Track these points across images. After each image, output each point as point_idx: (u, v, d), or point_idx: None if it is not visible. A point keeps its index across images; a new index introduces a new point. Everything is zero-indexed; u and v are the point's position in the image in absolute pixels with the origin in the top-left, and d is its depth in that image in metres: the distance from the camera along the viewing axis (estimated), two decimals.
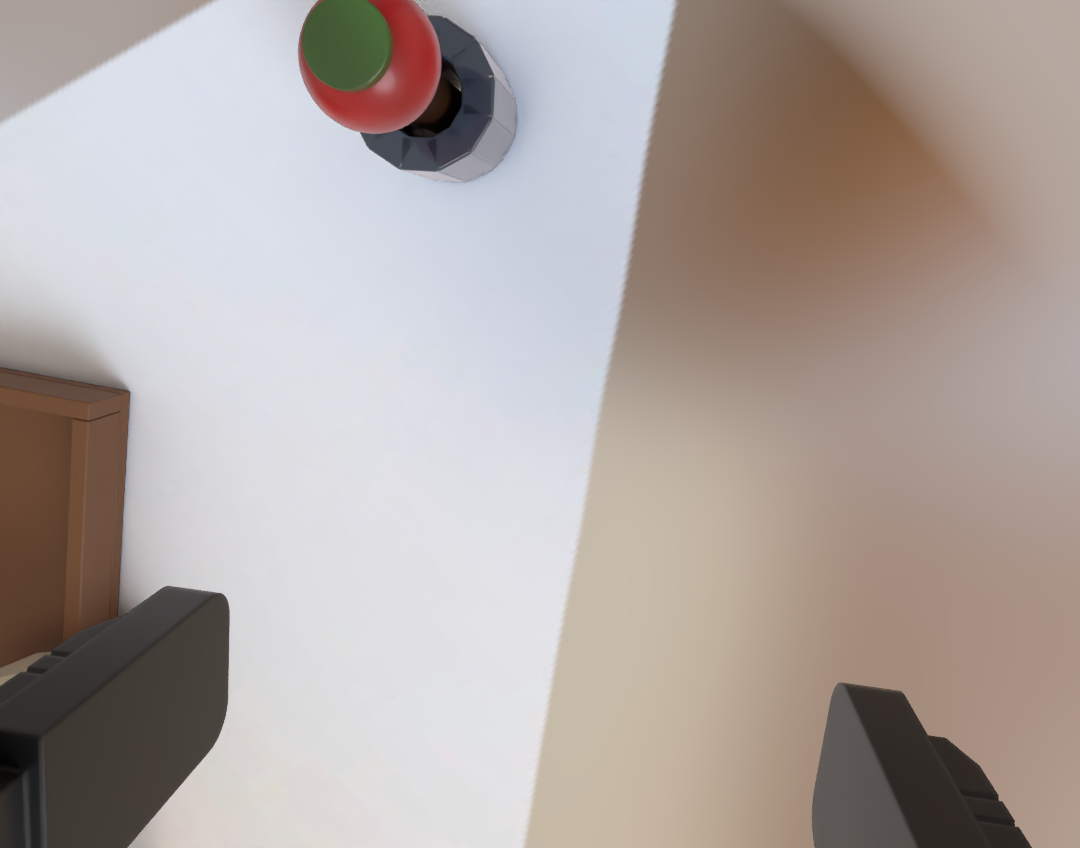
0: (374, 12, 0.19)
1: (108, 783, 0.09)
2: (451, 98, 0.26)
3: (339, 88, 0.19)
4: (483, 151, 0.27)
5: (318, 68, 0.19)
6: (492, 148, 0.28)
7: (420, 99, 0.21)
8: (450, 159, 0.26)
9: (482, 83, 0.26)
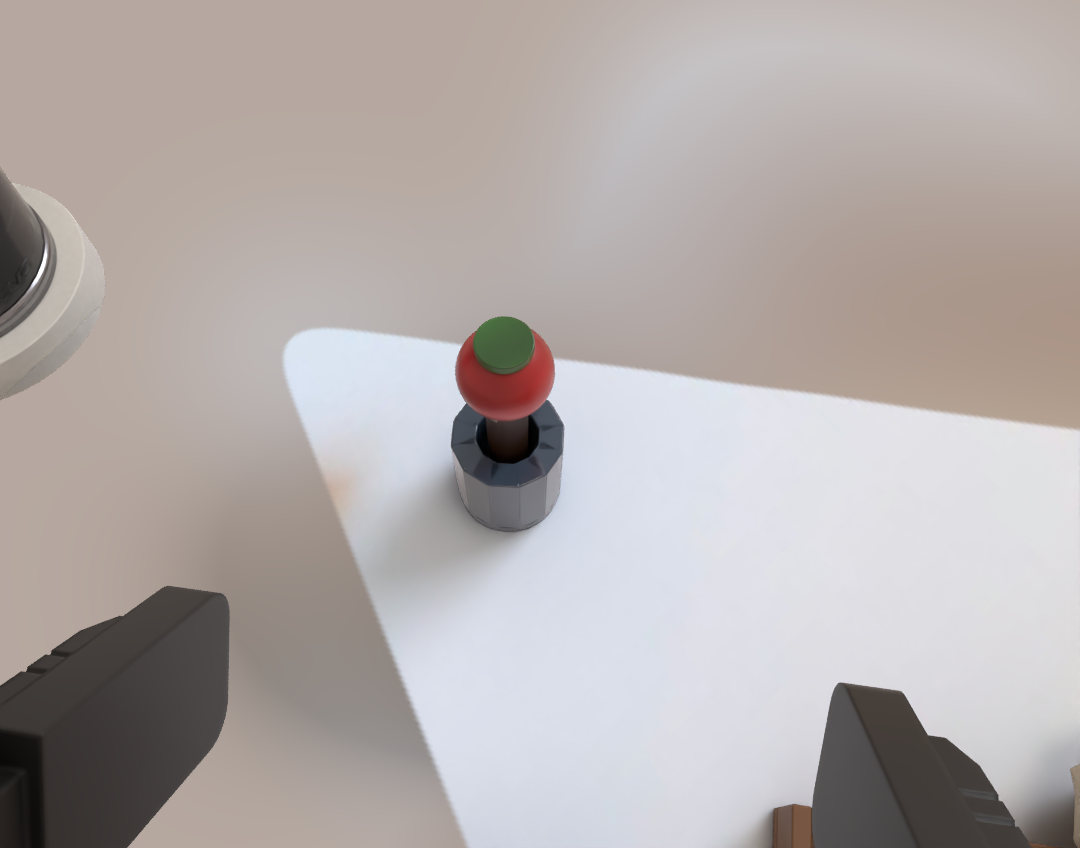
0: (486, 323, 0.28)
1: (108, 783, 0.09)
2: None
3: (533, 346, 0.28)
4: None
5: (520, 359, 0.28)
6: None
7: None
8: (555, 415, 0.35)
9: None
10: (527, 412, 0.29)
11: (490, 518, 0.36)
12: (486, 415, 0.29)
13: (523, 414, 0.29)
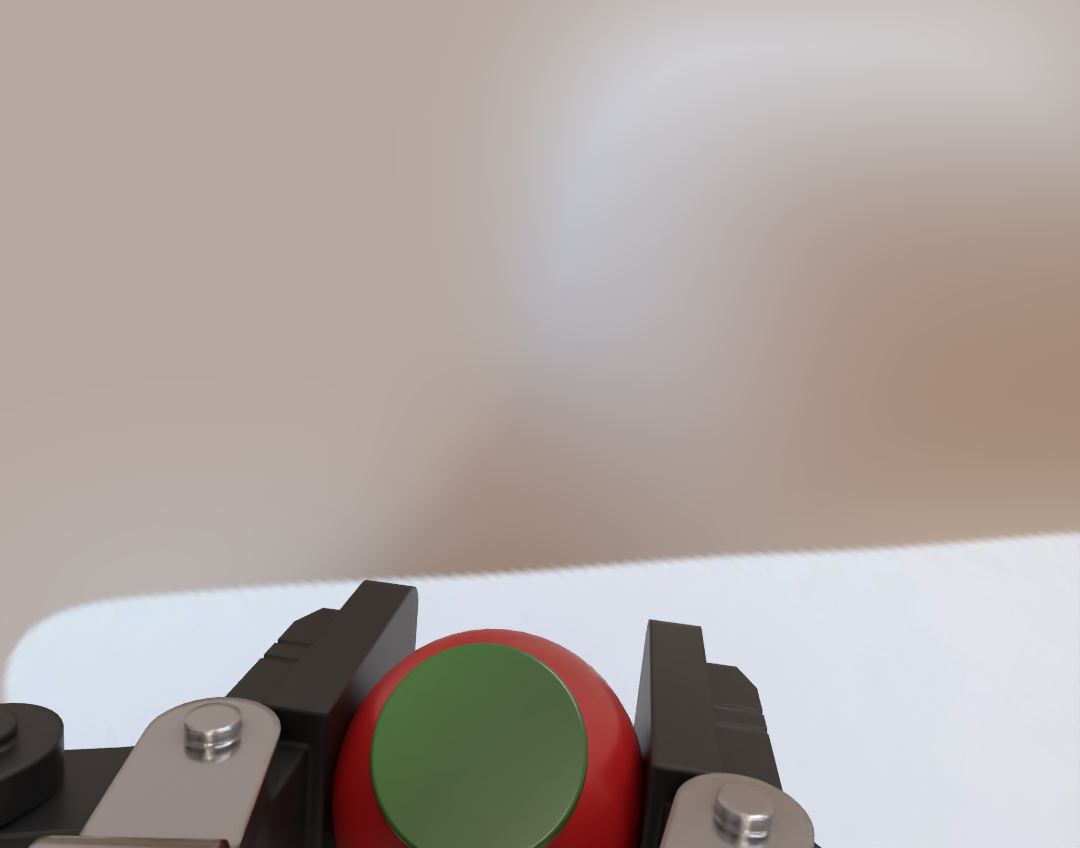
0: (405, 686, 0.08)
1: None
2: None
3: (586, 743, 0.08)
4: None
5: (551, 808, 0.08)
6: None
7: (552, 642, 0.10)
8: None
9: None
10: None
11: None
12: None
13: None
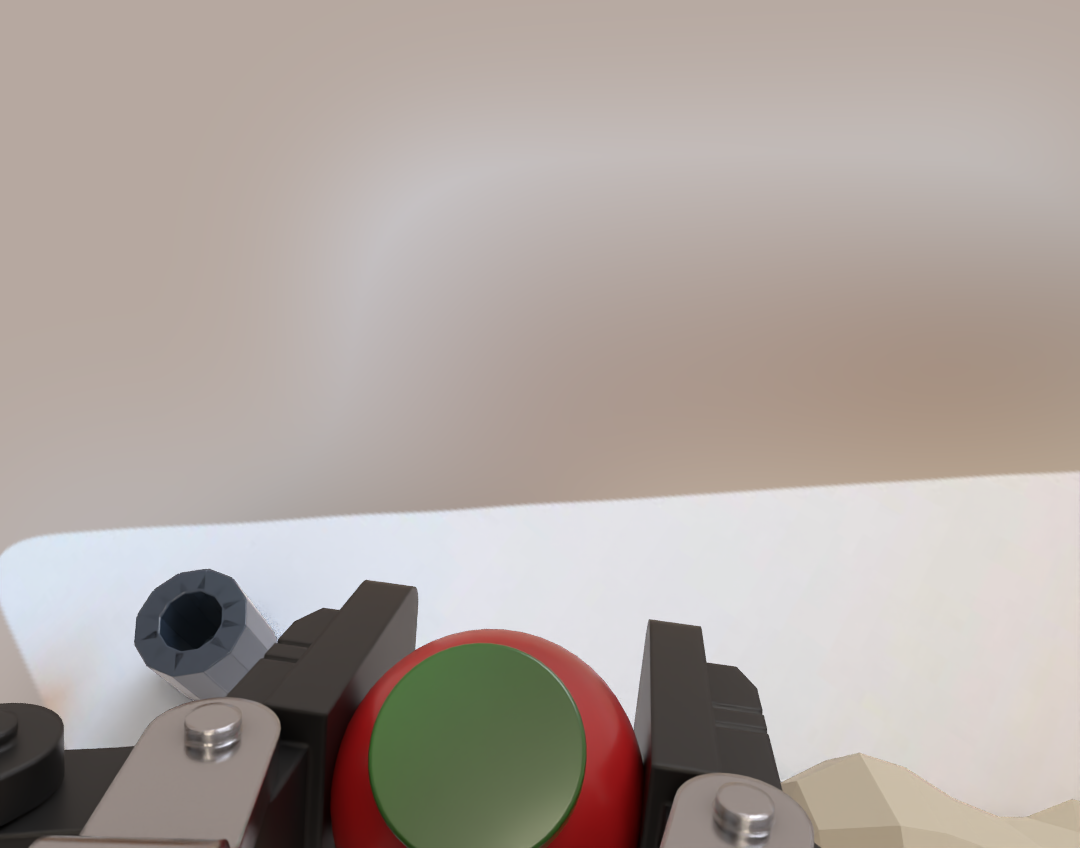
0: (402, 686, 0.08)
1: None
2: None
3: (584, 743, 0.08)
4: None
5: (550, 808, 0.08)
6: None
7: (551, 642, 0.10)
8: (237, 590, 0.36)
9: (183, 579, 0.36)
10: None
11: None
12: None
13: None
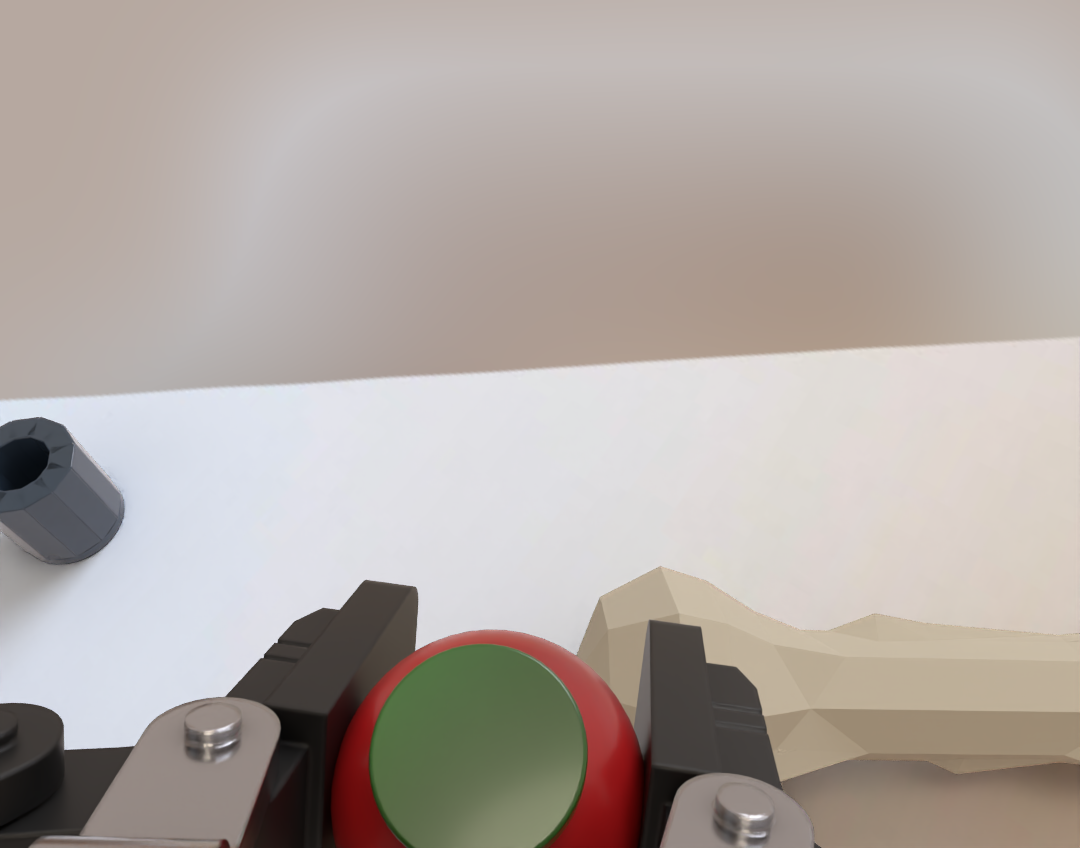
0: (403, 688, 0.08)
1: None
2: None
3: (585, 744, 0.08)
4: None
5: (551, 809, 0.08)
6: None
7: (552, 643, 0.10)
8: (66, 436, 0.36)
9: (14, 426, 0.36)
10: None
11: (37, 552, 0.37)
12: None
13: None
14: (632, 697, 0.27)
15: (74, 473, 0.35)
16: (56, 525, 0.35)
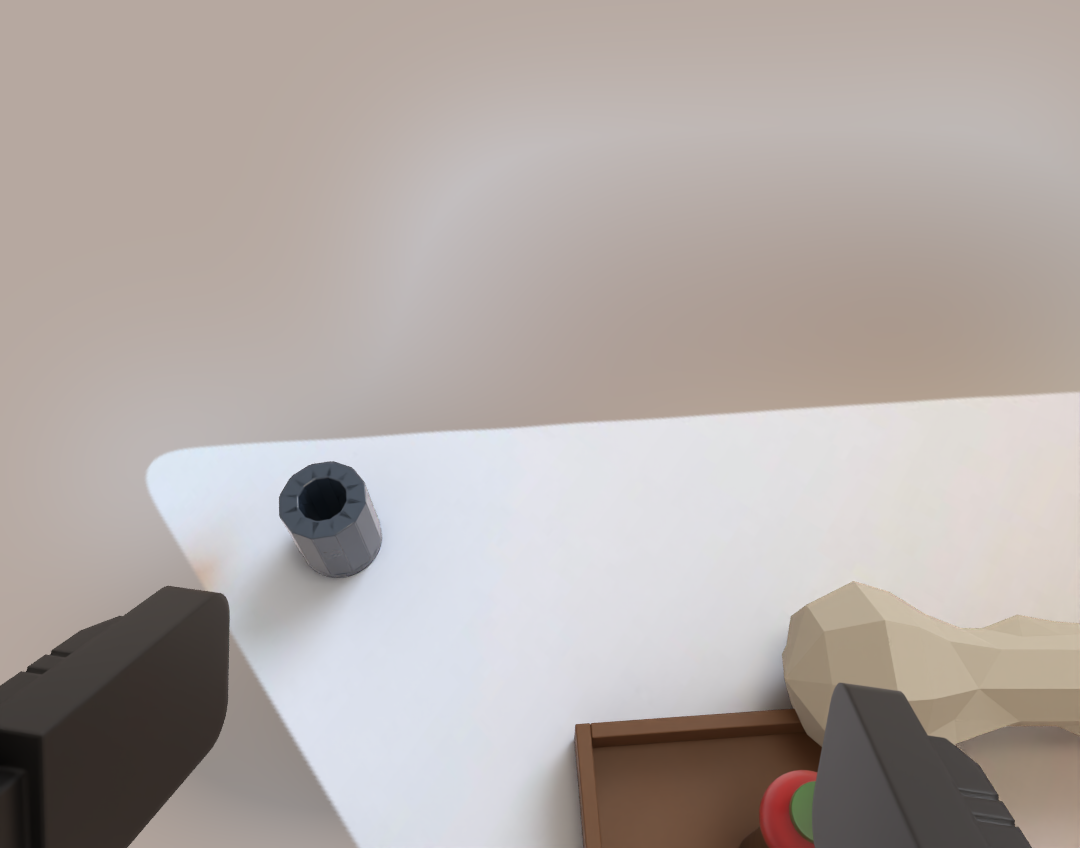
0: (797, 794, 0.30)
1: (108, 783, 0.09)
2: None
3: None
4: None
5: None
6: None
7: None
8: (357, 477, 0.45)
9: (314, 469, 0.45)
10: None
11: (326, 568, 0.46)
12: None
13: None
14: (851, 682, 0.36)
15: (366, 506, 0.45)
16: (349, 547, 0.45)
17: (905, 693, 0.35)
